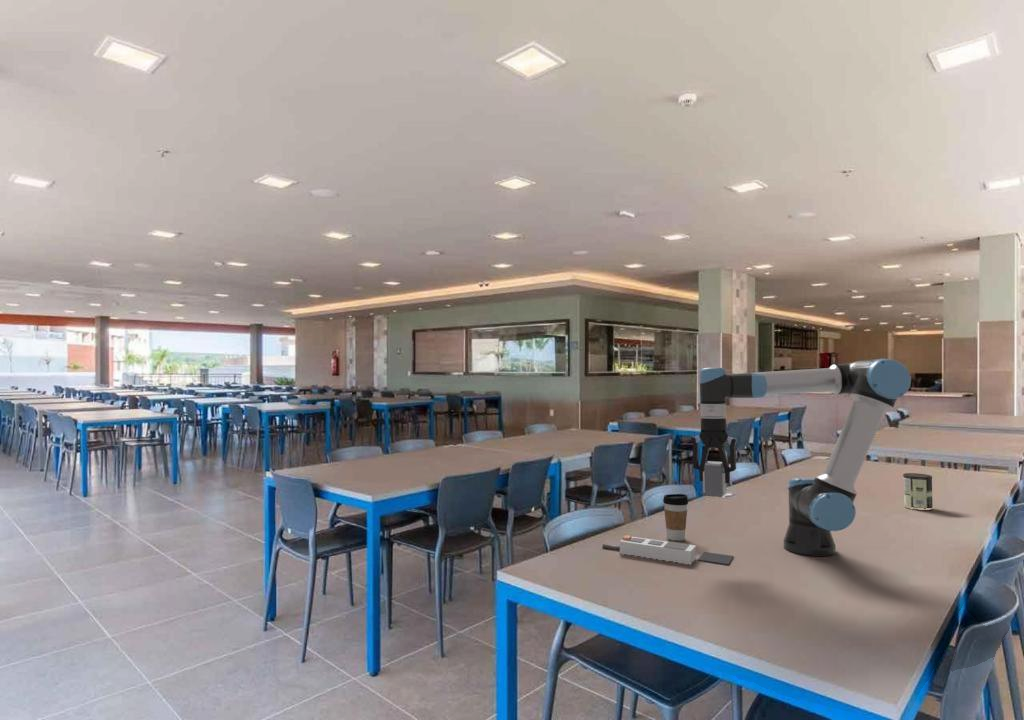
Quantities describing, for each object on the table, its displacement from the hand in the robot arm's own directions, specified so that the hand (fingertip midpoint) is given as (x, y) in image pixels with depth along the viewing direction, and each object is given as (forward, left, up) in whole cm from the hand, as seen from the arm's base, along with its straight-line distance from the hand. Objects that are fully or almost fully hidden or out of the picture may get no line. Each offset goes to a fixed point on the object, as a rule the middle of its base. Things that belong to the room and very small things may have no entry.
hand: (714, 492), depth 182 cm
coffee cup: (+16, -17, -21) cm, 31 cm away
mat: (0, 0, -20) cm, 20 cm away
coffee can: (-62, -114, -21) cm, 131 cm away
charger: (0, 0, -1) cm, 1 cm away
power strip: (+20, +6, -20) cm, 29 cm away
